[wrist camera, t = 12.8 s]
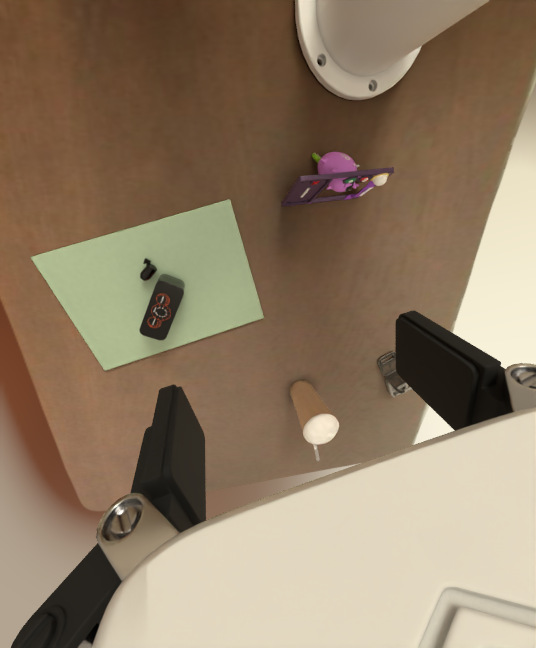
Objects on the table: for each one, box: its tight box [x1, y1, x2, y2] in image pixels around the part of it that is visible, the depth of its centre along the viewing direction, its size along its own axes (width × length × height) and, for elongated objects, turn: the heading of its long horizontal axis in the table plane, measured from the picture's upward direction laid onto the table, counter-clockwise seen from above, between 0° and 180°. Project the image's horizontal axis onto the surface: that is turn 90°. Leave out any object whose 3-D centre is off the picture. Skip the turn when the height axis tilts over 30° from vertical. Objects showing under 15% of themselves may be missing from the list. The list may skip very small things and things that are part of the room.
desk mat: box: [31, 199, 264, 371], centre depth 31 cm, size 14×20×1 cm
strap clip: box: [378, 352, 412, 397], centre depth 43 cm, size 8×3×4 cm, turn 27°
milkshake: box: [290, 380, 339, 461], centre depth 37 cm, size 5×5×10 cm
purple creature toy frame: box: [282, 152, 394, 206], centre depth 28 cm, size 7×5×9 cm
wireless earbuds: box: [139, 258, 185, 340], centre depth 30 cm, size 5×7×3 cm, turn 153°
